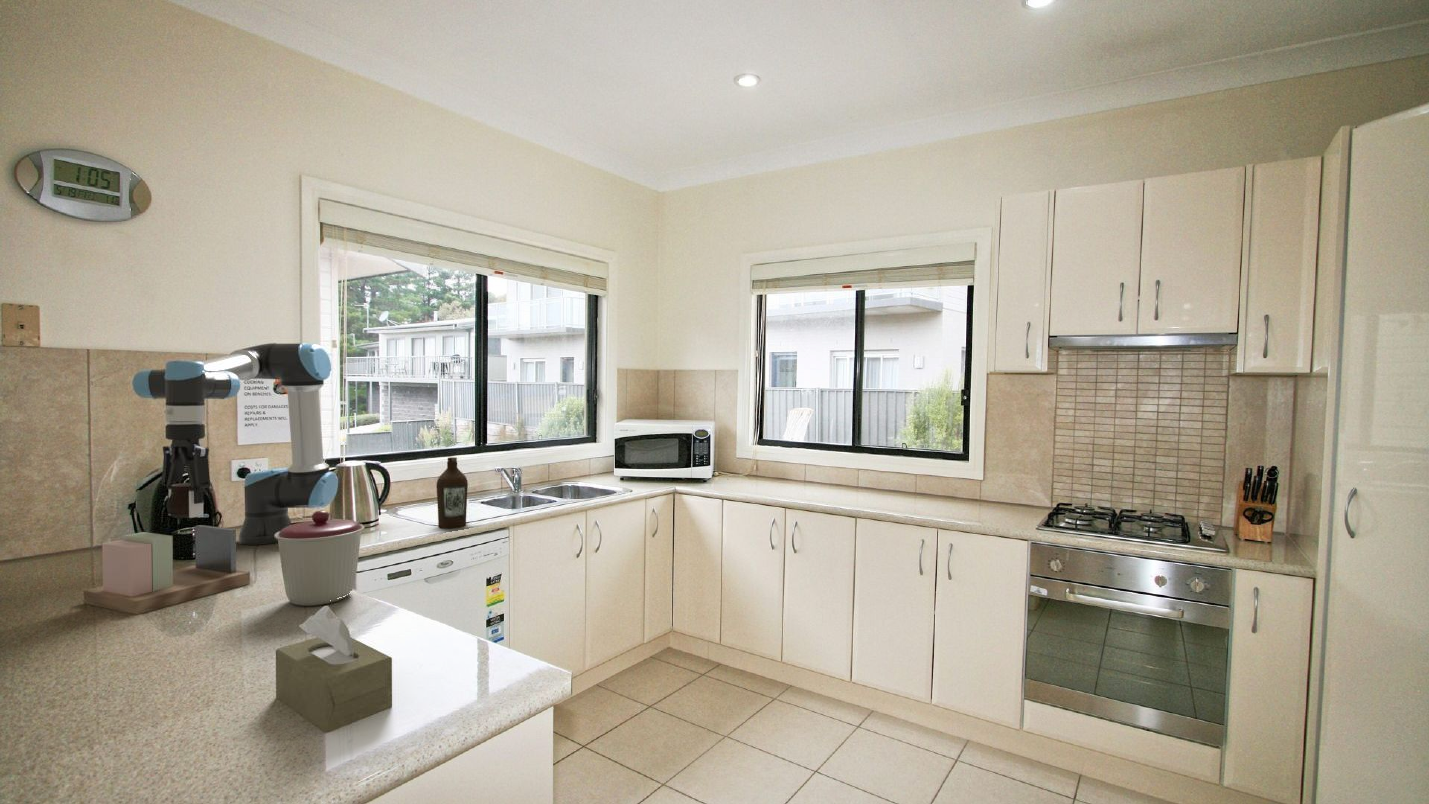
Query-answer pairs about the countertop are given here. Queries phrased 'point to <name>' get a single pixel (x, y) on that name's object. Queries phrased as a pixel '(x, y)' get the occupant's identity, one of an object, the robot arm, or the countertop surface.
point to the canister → (319, 559)
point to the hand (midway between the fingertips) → (186, 515)
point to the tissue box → (332, 675)
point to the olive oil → (452, 496)
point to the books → (138, 564)
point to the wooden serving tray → (170, 590)
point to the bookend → (215, 548)
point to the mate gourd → (179, 501)
